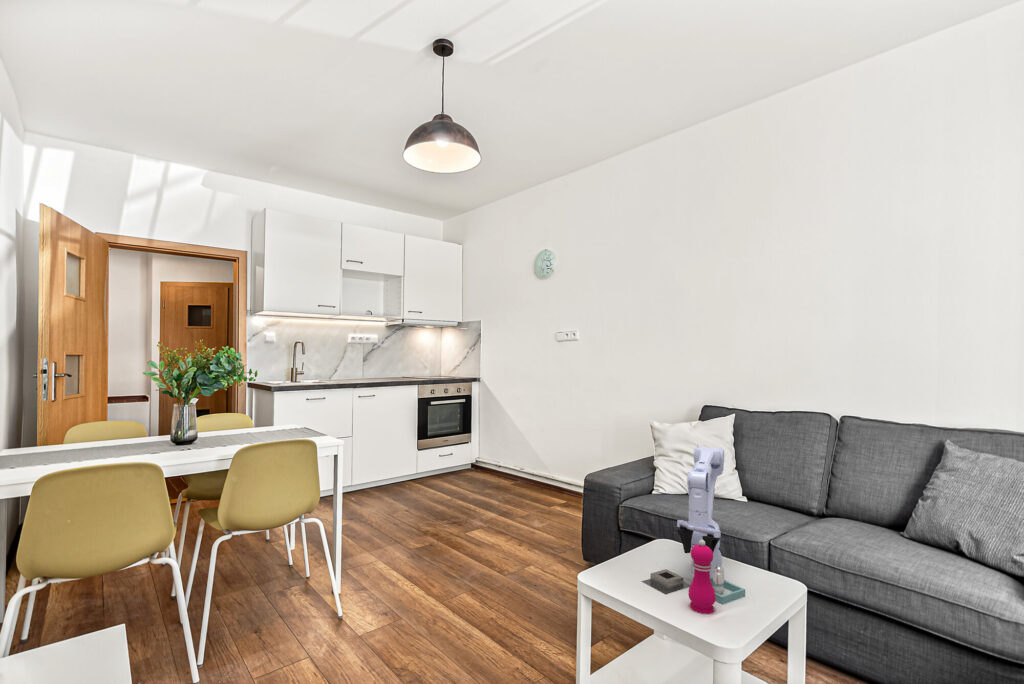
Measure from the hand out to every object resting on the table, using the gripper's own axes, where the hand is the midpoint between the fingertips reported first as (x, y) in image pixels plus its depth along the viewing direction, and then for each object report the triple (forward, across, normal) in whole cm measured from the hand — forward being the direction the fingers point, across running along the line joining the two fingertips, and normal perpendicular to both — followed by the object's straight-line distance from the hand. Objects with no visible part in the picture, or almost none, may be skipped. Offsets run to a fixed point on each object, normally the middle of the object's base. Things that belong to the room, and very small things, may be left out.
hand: (697, 556), depth 153 cm
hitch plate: (+11, -7, -5) cm, 14 cm away
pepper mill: (+12, +8, -9) cm, 17 cm away
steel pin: (+10, +5, +3) cm, 12 cm away
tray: (+10, +5, +4) cm, 12 cm away
